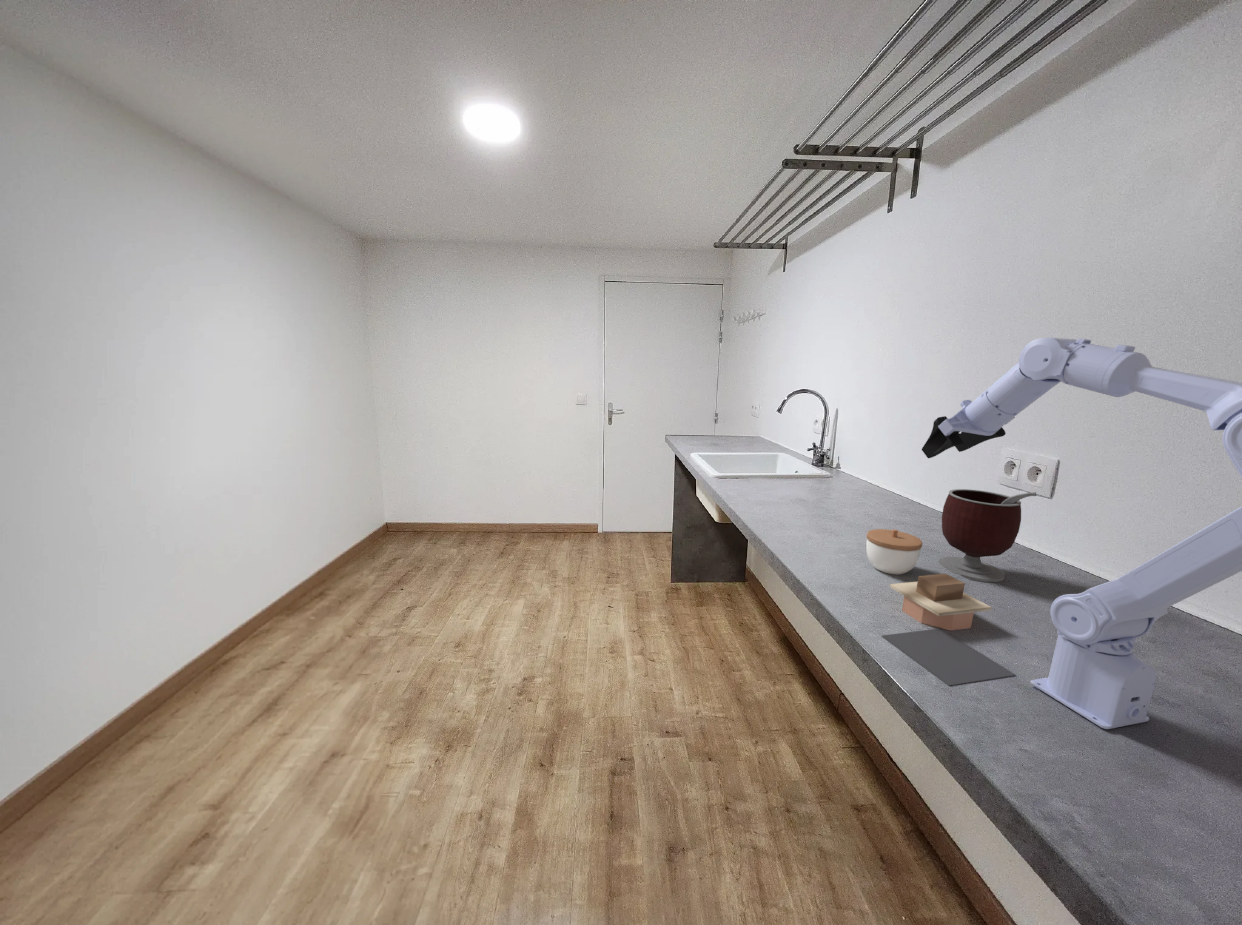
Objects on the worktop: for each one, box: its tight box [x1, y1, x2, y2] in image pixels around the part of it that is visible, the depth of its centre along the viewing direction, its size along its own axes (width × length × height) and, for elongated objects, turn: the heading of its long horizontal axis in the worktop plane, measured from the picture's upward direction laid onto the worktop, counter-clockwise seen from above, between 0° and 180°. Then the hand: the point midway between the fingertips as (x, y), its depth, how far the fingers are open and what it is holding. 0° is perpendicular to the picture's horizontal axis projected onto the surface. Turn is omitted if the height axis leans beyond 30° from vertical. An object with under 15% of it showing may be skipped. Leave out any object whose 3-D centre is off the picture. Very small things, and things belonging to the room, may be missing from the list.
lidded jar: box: [865, 528, 923, 576], centre depth 109 cm, size 11×11×9 cm
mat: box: [881, 627, 1017, 687], centre depth 77 cm, size 13×12×1 cm
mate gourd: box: [937, 488, 1037, 583], centre depth 109 cm, size 16×14×20 cm
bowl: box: [901, 595, 975, 631], centre depth 90 cm, size 10×10×4 cm
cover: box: [889, 573, 993, 616], centre depth 89 cm, size 11×11×4 cm
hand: (941, 450), depth 89 cm, fingers open, 7 cm apart
